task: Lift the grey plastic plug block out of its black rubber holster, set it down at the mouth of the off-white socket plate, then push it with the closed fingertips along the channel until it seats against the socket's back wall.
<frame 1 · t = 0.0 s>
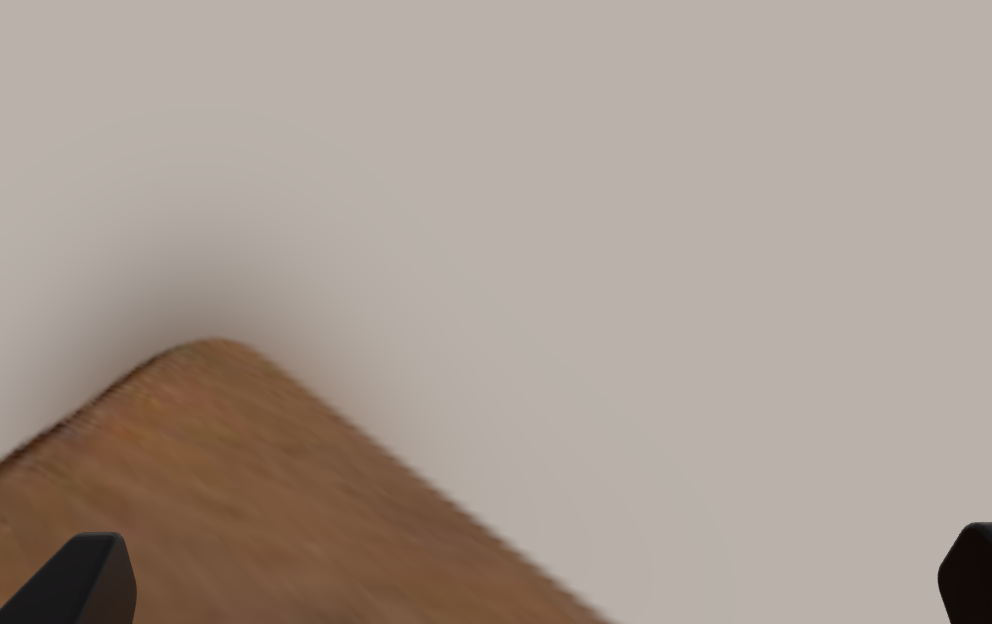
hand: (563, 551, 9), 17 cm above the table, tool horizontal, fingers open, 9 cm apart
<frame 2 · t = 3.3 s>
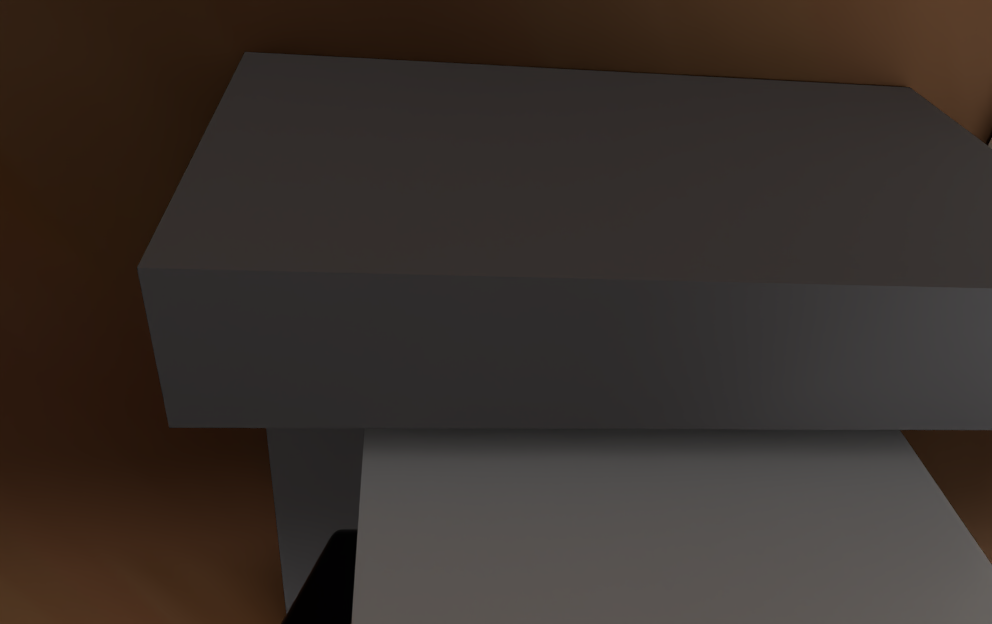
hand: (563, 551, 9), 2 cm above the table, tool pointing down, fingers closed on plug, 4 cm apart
holster: (539, 420, 10), on the table
plug: (548, 467, 10), point 1 cm above the table, touching gripper, holster
when the fingers open (3 cm above the table, at t = 6.1 s): plug drops 1 cm, resting on port.
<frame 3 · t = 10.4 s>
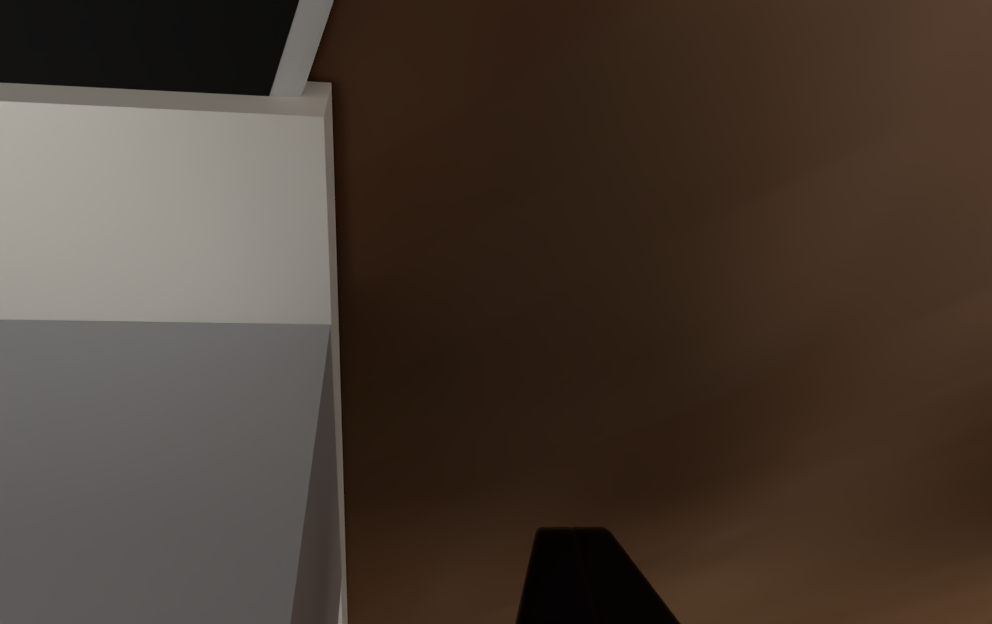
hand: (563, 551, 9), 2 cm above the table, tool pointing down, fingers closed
plug: (58, 466, 9), point 1 cm above the table, touching gripper, port
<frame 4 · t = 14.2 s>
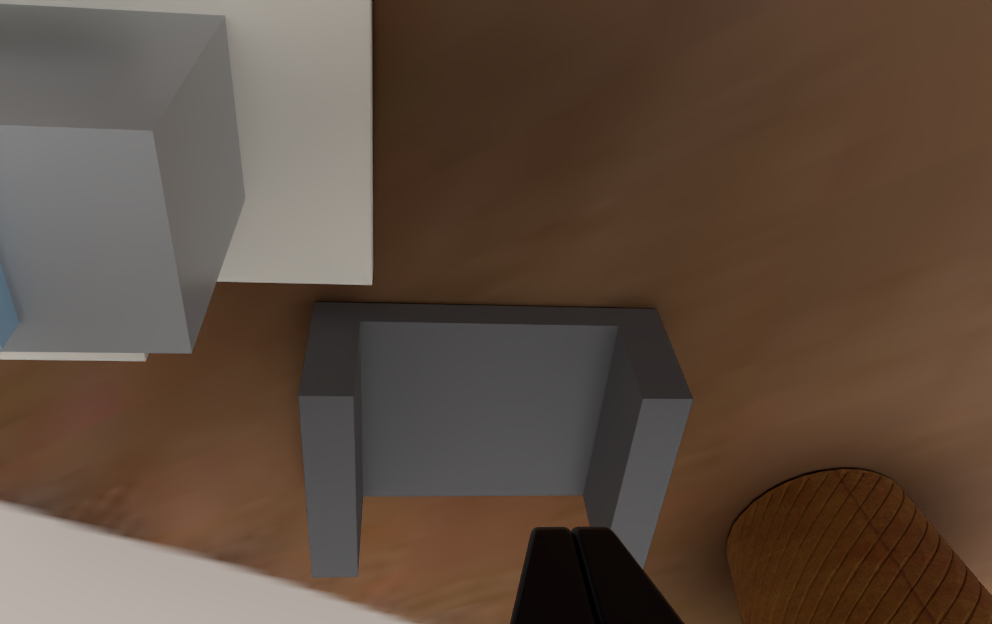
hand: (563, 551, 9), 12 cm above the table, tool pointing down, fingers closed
holster: (480, 397, 23), on the table
disposable coffee cup: (814, 526, 28), on the table
plug: (84, 107, 17), point 1 cm above the table, touching port
port: (135, 95, 18), on the table
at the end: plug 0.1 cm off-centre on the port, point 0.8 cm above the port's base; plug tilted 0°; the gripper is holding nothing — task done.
